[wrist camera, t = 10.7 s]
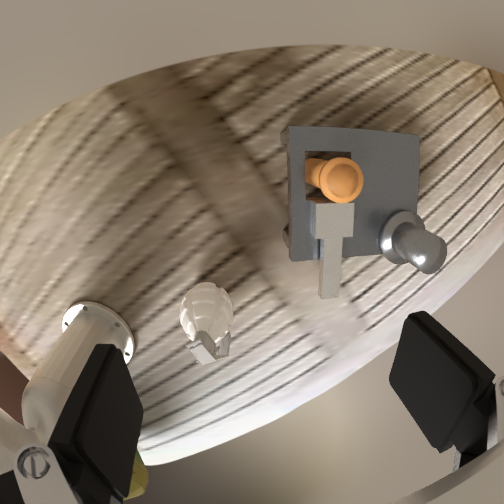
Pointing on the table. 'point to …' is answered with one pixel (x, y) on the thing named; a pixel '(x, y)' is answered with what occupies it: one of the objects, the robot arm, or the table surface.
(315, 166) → the pin
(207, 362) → the hand grenade
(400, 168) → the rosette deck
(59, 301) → the table surface
